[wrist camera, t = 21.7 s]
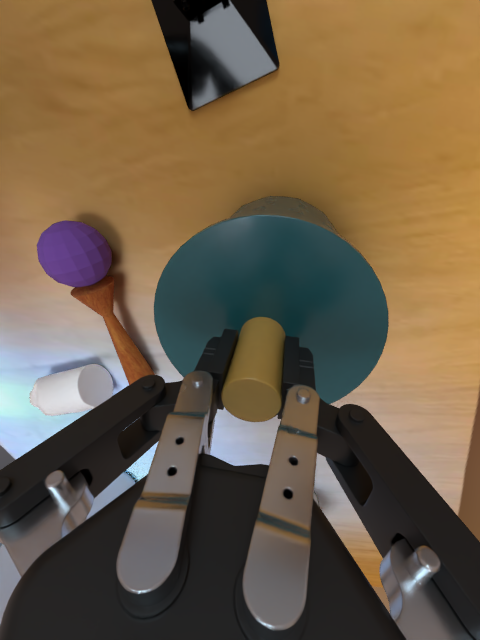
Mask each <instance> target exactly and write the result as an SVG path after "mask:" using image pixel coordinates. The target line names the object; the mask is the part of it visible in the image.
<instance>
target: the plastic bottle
mask: <svg viewBox="0 0 480 640" xmlns="http://www.w3.org/2000/svg"><path fill="white" fill-rule="evenodd" d="M134 484H135V481H134V480H133V479H132V478H131V477H130V476H129V475H128V474H126V473H125V472H123V473H122V474H121V475H120V476H119V477H118V478H117V479H115V480H114V481H113V482H112V483H111V484H110V485H109V486H108V487H107V488H105V489H104V490H103V491H102V492H101V493H100V494H99V495H98V496H97V497H95V498H94V500H93V506H92V508H91V510H90V512H89V514H88V515H87V518H86V520H87V519H88V518H90V517H91V516H92V515H94V514H95V513H96V512H98V511H99V510H100V509H102V508H103V507H104V506H106V505H107V504H108V503H110V502H111V501H113V500H114V499H115V498H117V497H118V496H119V495H121V494H122V493H123V492H125V491H126V490H127V489H129V488H130V487H131V486H133V485H134ZM86 520H85V521H86ZM20 579H21V576H20V574H19V572H18V570H17V568H16V566H15V564H14V563H13V561H12V559H11V557H10V555H9V553H8V551H7V549H6V547H5V546H4V544H3V545H2V546H1V548H0V624H1V621H2V617H3V613H4V611H5V608H6V605H7V603H8V600H9V598H10V596H11V594H12V592H13V590H14V588H15V587H16V585H17V584H18V582H19V580H20Z"/></svg>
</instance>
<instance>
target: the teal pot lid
mask: <svg viewBox="0 0 480 640" xmlns="http://www.w3.org/2000/svg"><path fill="white" fill-rule="evenodd" d="M154 320H155V325H156V330H157V334H158V337H159V340H160V343H161V345H162V347H163V349H164V351H165V353H166V355H167V356H168V358H169V360H170V361H171V363H172V364H173V365H174V367H175V368H176V369H177V370H178V372H179V373H180V374H181V375H182V376H183V377H185V376H186V375H187V374H188V373H190V372H193V371H194V370H195V368H196V366H197V363H198V361H199V359H200V357H201V355H202V354H203V351H204V349H205V346H206V344H207V342H208V341H209V340H210V339H212V338H213V337H214V336H215V337H221V336H222V333H223V331H224V329H232V330H238V341H237V344H236V347H235V350H234V354H233V357H232V360H231V363H230V366H229V369H228V373H227V376H226V379H225V382H224V385H223V389H222V392H221V400H222V403H223V405H224V407H225V408H226V410H227V411H228V412H230V413H231V414H232V415H234V416H235V417H237V418H239V419H242V420H245V421H250V422H262V421H267V420H269V419H271V418H273V417H275V416H276V415H278V412H279V411H280V409H281V406H282V395H281V388H282V372H283V357H284V342H285V336H291V337H299V347H304V348H309V350H310V351H311V353H312V354H313V363H314V374H315V385H316V392H317V393H318V395H319V397H320V398H321V399H322V400H323V401H324V402H326V403H327V404H331V403H333V402H335V401H337V400H339V399H341V398H342V397H344V396H346V395H347V394H349V393H350V392H351V391H353V390H354V389H355V388H356V387H358V386H359V385H360V384H361V383H362V382H363V381H364V380H365V379H366V378H367V377H368V375H369V374H370V373H371V371H372V370H373V368H374V367H375V366H376V364H377V362H378V360H379V358H380V356H381V354H382V352H383V349H384V346H385V343H386V339H387V333H388V308H387V302H386V297H385V294H384V292H383V289H382V286H381V283H380V281H379V280H378V278H377V276H376V274H375V272H374V271H373V269H372V267H371V266H370V264H369V263H368V262H367V261H366V259H365V258H364V257H363V256H362V255H361V253H360V252H359V251H358V250H357V249H356V248H355V247H354V246H352V245H351V244H350V243H349V242H348V241H347V240H346V239H344V238H343V237H341V236H340V235H338V234H337V233H335V232H334V231H332V230H331V229H329V228H326V227H324V226H322V225H320V224H318V223H316V222H313V221H310V220H307V219H304V218H301V217H297V216H292V215H286V214H280V213H254V214H245V215H240V216H236V217H232V218H228V219H225V220H222V221H220V222H217V223H215V224H213V225H210V226H208V227H207V228H205V229H204V230H202V231H200V232H199V233H197V234H195V235H194V236H193V237H192V238H190V239H189V240H188V241H187V242H186V243H185V244H183V245H182V246H181V247H180V248H179V249H178V250H177V252H176V253H175V254H174V255H173V256H172V257H171V259H170V260H169V262H168V263H167V265H166V267H165V268H164V270H163V272H162V275H161V277H160V279H159V282H158V285H157V289H156V293H155V301H154Z"/></svg>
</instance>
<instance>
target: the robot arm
mask: <svg viewBox="0 0 480 640" xmlns="http://www.w3.org/2000/svg"><path fill="white" fill-rule="evenodd" d="M237 341H238V330H232V329H224V331H223V333H222V336H221V337H215V336H214V337H213V338H212V339H210V340H209V341H208V342H207V344H206V346H205V349H204V351H203V354H202V355H201V357H200V359H199V361H198V363H197V366H196V368H195V370H194V371H193V372H190V373H188V374H187V375H186V376H185V377H184V379H183V380H182V381H179V382H171V383H165V381H164V379H163V378H162V377H161V376H158V375H146V376H143V377H141V378H139V379H138V380H136V381H135V382H133V383H132V384H130V385H129V386H127V387H126V388H124V389H123V390H121V391H120V392H118V393H117V394H115V395H114V396H112V397H111V398H109V399H108V400H106V401H105V402H103V403H101V404H100V405H98V406H97V407H95V408H94V409H92V410H91V411H89V412H88V413H86V414H85V415H83V416H82V417H80V418H79V419H77V420H76V421H74V422H73V423H71V424H70V425H68V426H67V427H65V428H64V429H62V430H61V431H59V432H57V433H56V434H54V435H53V436H51V437H50V438H48V439H47V440H45V441H44V442H42V443H41V444H39V445H38V446H36V447H35V448H33V449H32V450H30V451H29V452H27V453H26V454H24V455H23V456H21V457H20V458H18V459H17V460H15V461H13V462H12V463H10V464H9V465H7V466H6V467H4V468H3V469H1V470H0V542H1V543H2V544H4V546H5V547H6V549H7V551H8V553H9V555H10V557H11V559H12V561H13V563H14V564H15V566H16V568H17V570H18V572H19V574H20V576H21V579H20V580H19V582H18V584H17V585H16V587H15V588H14V590H13V592H12V594H11V596H10V598H9V600H8V603H7V605H6V608H5V611H4V613H3V617H2V621H1V624H0V640H480V542H479V541H478V540H477V538H476V537H475V536H474V535H473V534H472V532H471V531H470V530H469V529H468V528H467V527H466V525H465V524H464V523H463V522H462V521H461V520H460V518H459V517H458V516H457V515H456V514H455V512H454V511H453V510H452V509H451V508H450V507H449V505H448V504H447V503H446V502H445V501H444V500H443V498H442V497H441V496H440V495H439V494H438V492H437V491H436V490H435V489H434V488H433V487H432V485H431V484H430V483H429V482H428V481H427V480H426V478H425V477H424V476H423V475H422V474H421V472H420V471H419V470H418V469H417V468H416V467H415V465H414V464H413V463H412V462H411V461H410V460H409V458H408V457H407V456H406V455H405V454H404V452H403V451H402V450H401V449H400V448H399V447H398V445H397V444H396V443H395V442H394V441H393V440H392V438H391V437H390V436H389V435H388V434H387V433H386V431H385V430H384V429H383V428H382V427H381V425H380V424H379V423H378V422H377V421H376V420H375V418H374V417H373V416H372V415H371V414H370V413H369V412H368V411H367V410H366V409H364V408H362V407H360V406H358V405H354V404H346V405H343V406H341V407H340V409H339V408H337V407H334V406H332V405H329V404H327V403H326V402H324V401H323V400H322V399H321V398H320V397H319V395H318V393H317V392H316V385H315V374H314V363H313V354H312V353H311V351H310V350H309V348H304V347H299V337H291V336H285V342H284V357H283V372H282V388H281V395H282V406H281V409H280V411H279V412H278V419H281V422H280V426H279V427H278V431H277V435H276V439H275V444H274V448H273V452H272V456H271V461H270V465H263V464H258V465H244V466H233V465H231V464H229V463H226V462H224V461H222V460H220V459H218V458H216V457H214V456H212V455H210V451H211V444H212V436H213V429H214V422H215V415H216V412H217V409H221V410H223V409H224V405H223V403H222V400H221V392H222V389H223V385H224V382H225V379H226V376H227V373H228V369H229V366H230V363H231V360H232V357H233V354H234V350H235V347H236V344H237ZM139 417H140V418H139ZM138 418H139V419H138ZM135 420H136V421H135ZM134 421H135V422H134ZM130 424H131V425H130ZM129 425H130V426H129ZM126 427H127V428H126ZM125 428H126V429H125ZM158 441H159V442H158ZM157 442H158V445H157V448H156V451H155V454H154V458H153V461H152V464H151V467H150V470H149V473H148V474H147V475H146V476H145V477H143V478H142V479H141V480H139V481H138V482H137V483H135V484H134V485H133V486H131V487H130V488H129V489H127V490H126V491H125V492H123V493H122V494H121V495H119V496H118V497H117V498H115V499H114V500H113V501H111V502H110V503H108V504H107V505H106V506H104V507H103V508H102V509H100V510H99V511H98V512H96V513H95V514H94V515H92V516H91V517H90V518H88V519H87V520H86V518H87V515H88V514H89V512H90V510H91V508H92V506H93V500H94V498H95V497H97V496H98V495H99V494H100V493H101V492H102V491H103V490H104V489H105V488H107V487H108V486H109V485H110V484H111V483H112V482H113V481H114V480H115V479H117V478H118V477H119V476H120V475H121V474H122V473H123V472H124V471H125V470H127V469H128V468H129V467H130V466H131V465H132V464H133V463H134V462H135V461H137V460H138V459H139V458H140V457H141V456H142V455H143V454H144V453H145V452H147V451H148V450H149V449H150V448H151V447H152V446H153V445H154V444H155V443H157ZM317 453H319V454H321V455H323V456H325V457H326V460H327V462H328V464H329V466H330V468H331V469H332V471H333V473H334V474H335V476H336V478H337V480H338V481H339V483H340V485H341V487H342V488H343V490H344V492H345V493H346V495H347V497H348V499H349V500H350V502H351V504H352V506H353V507H354V509H355V511H356V512H357V514H358V516H359V518H360V519H361V521H362V523H363V525H364V526H365V528H366V530H367V531H368V533H369V535H370V537H371V538H372V540H373V542H374V544H375V545H376V547H377V549H378V550H379V552H380V554H381V556H382V557H383V560H382V561H381V564H380V578H381V582H382V585H383V587H384V590H385V592H386V594H387V597H388V601H389V606H390V613H389V612H388V610H387V609H386V607H385V606H384V605H383V603H382V602H381V600H380V598H379V597H378V595H377V594H376V592H375V591H374V589H373V588H372V586H371V585H370V583H369V582H368V580H367V579H366V577H365V576H364V574H363V572H362V571H361V569H360V568H359V566H358V565H357V563H356V562H355V560H354V559H353V557H352V556H351V554H350V553H349V551H348V550H347V548H346V547H345V545H344V544H343V542H342V541H341V539H340V538H339V536H338V535H337V533H336V532H335V530H334V529H333V527H332V526H331V524H330V522H329V521H328V519H327V518H326V516H325V515H324V513H323V512H322V510H321V509H320V507H319V506H318V504H317V503H316V501H315V500H314V499H313V492H314V481H315V469H316V457H317ZM85 520H86V521H85Z"/></svg>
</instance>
